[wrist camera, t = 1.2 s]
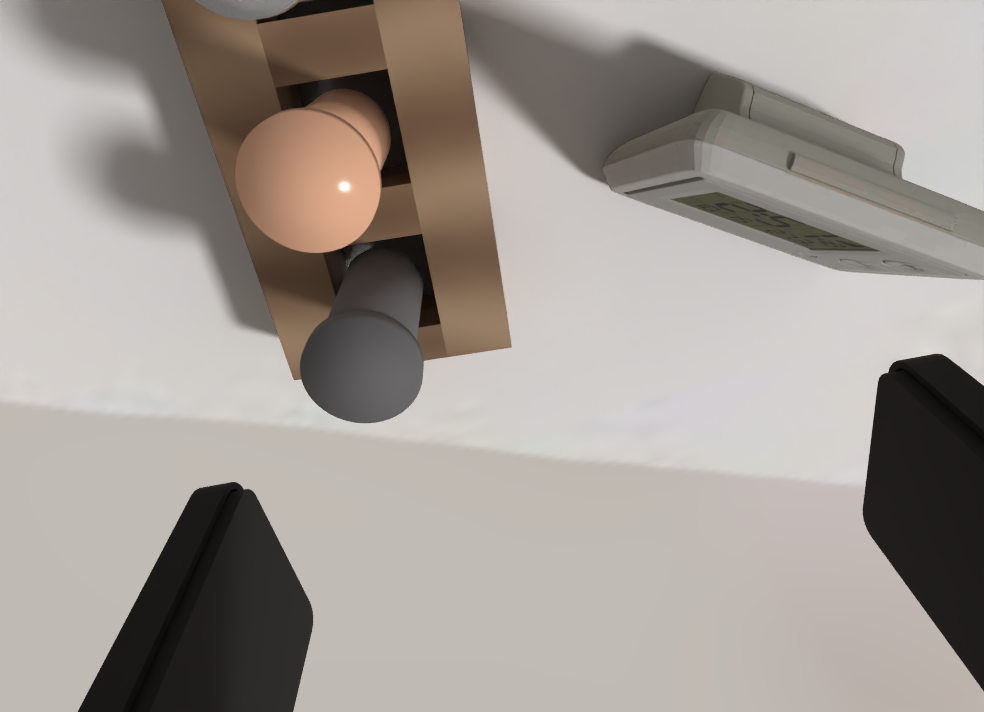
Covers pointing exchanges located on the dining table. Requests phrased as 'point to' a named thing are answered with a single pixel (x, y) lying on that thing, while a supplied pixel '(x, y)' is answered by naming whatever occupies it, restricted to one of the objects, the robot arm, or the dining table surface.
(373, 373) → the charcoal peg
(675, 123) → the digital clock
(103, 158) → the dining table surface
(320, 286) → the walnut block
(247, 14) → the grey peg
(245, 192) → the terracotta peg
